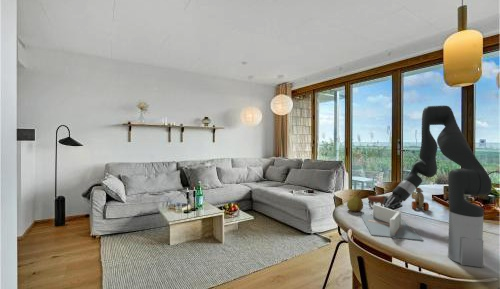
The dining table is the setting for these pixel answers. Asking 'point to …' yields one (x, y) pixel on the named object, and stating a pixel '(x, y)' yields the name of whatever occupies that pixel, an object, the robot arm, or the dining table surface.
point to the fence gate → (383, 213)
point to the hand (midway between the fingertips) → (382, 213)
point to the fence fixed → (395, 223)
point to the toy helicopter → (419, 200)
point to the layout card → (383, 228)
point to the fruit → (355, 203)
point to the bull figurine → (376, 199)
